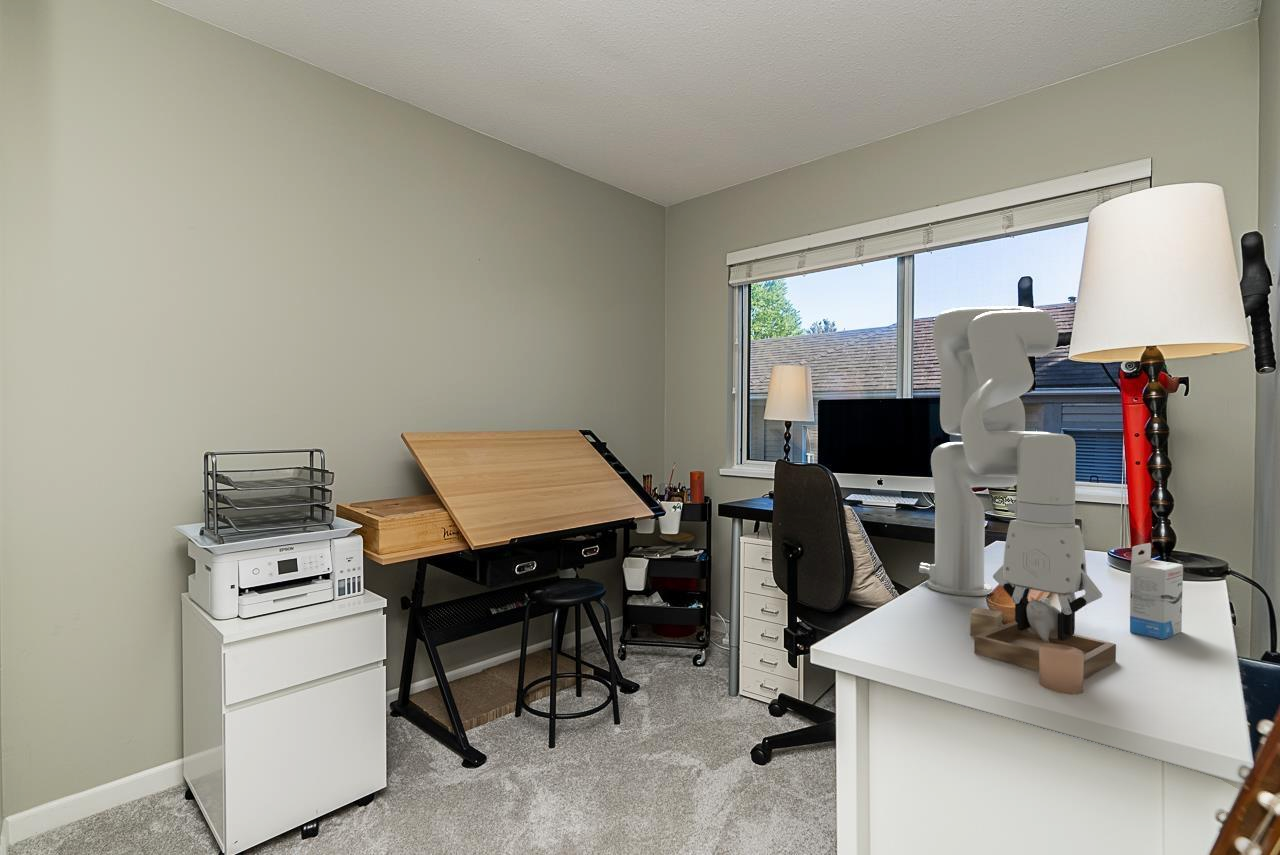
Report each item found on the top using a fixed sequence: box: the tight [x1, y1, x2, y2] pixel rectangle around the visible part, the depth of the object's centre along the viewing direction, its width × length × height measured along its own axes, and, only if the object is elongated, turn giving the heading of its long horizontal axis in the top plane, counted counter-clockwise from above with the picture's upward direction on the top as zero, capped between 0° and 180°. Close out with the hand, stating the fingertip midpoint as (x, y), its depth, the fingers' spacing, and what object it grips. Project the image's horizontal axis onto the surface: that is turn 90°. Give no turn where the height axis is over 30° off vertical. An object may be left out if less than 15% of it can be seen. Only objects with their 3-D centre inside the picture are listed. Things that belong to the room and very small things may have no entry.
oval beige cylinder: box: [1038, 643, 1084, 695], centre depth 85 cm, size 5×5×5 cm
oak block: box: [969, 607, 1003, 638], centre depth 106 cm, size 4×4×4 cm
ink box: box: [1129, 542, 1184, 640], centre depth 108 cm, size 8×5×15 cm, turn 123°
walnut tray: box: [973, 620, 1117, 681], centre depth 96 cm, size 14×14×3 cm
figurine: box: [1026, 596, 1061, 643], centre depth 97 cm, size 8×6×8 cm
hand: (1044, 632), depth 96 cm, fingers closed on figurine, 4 cm apart
